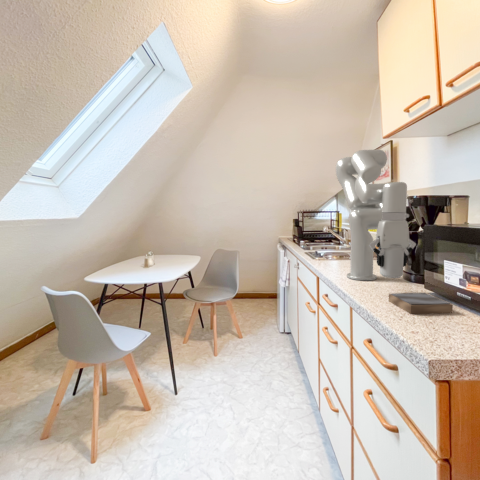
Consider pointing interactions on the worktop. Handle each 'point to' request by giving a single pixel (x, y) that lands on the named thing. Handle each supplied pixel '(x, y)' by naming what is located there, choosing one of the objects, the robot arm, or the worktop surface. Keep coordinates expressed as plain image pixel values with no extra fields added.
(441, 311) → the plinth
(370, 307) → the worktop surface
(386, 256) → the can
